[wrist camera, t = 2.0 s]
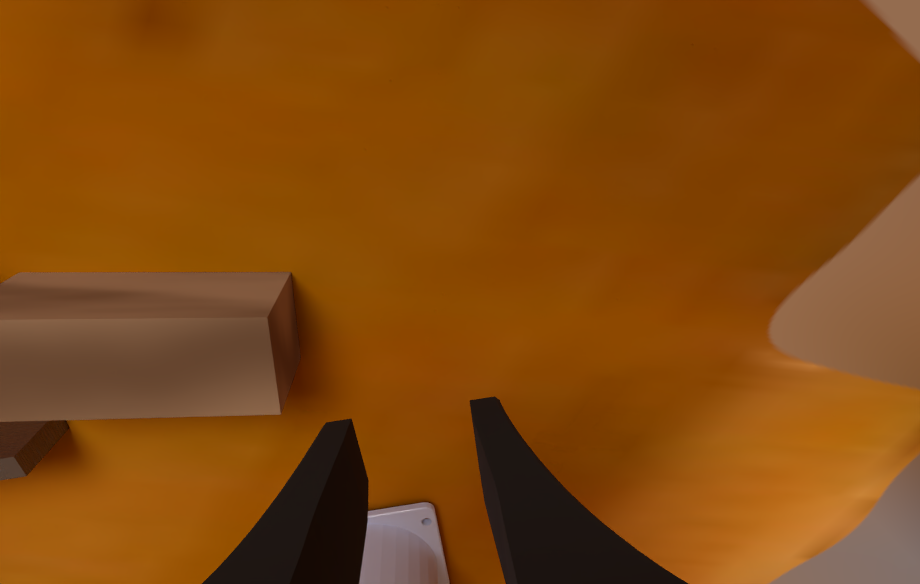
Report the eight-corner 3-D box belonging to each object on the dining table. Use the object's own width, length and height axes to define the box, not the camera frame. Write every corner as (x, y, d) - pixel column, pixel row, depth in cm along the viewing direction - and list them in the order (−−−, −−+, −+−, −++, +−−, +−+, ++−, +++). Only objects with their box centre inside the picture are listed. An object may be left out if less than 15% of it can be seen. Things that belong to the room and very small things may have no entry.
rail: (301, 355, 22) (280, 414, 19) (54, 359, 21) (-17, 422, 18) (292, 269, 21) (267, 317, 17) (23, 270, 20) (-63, 320, 16)
